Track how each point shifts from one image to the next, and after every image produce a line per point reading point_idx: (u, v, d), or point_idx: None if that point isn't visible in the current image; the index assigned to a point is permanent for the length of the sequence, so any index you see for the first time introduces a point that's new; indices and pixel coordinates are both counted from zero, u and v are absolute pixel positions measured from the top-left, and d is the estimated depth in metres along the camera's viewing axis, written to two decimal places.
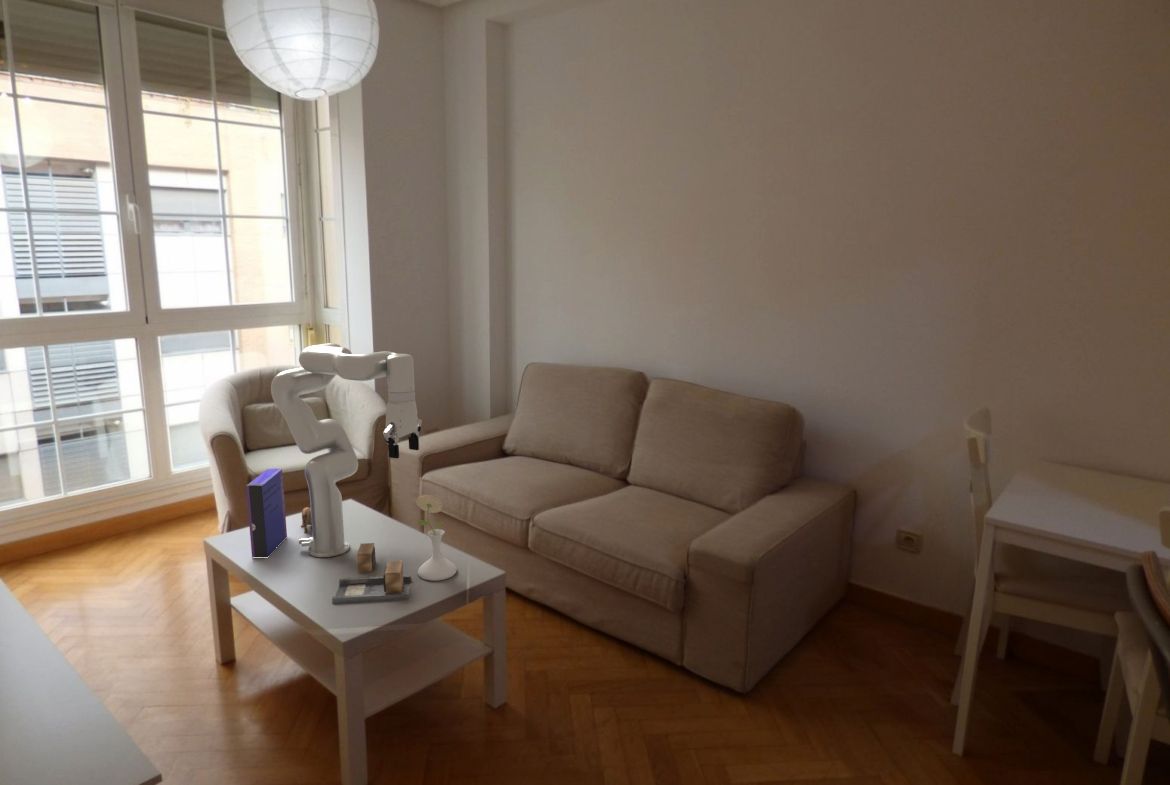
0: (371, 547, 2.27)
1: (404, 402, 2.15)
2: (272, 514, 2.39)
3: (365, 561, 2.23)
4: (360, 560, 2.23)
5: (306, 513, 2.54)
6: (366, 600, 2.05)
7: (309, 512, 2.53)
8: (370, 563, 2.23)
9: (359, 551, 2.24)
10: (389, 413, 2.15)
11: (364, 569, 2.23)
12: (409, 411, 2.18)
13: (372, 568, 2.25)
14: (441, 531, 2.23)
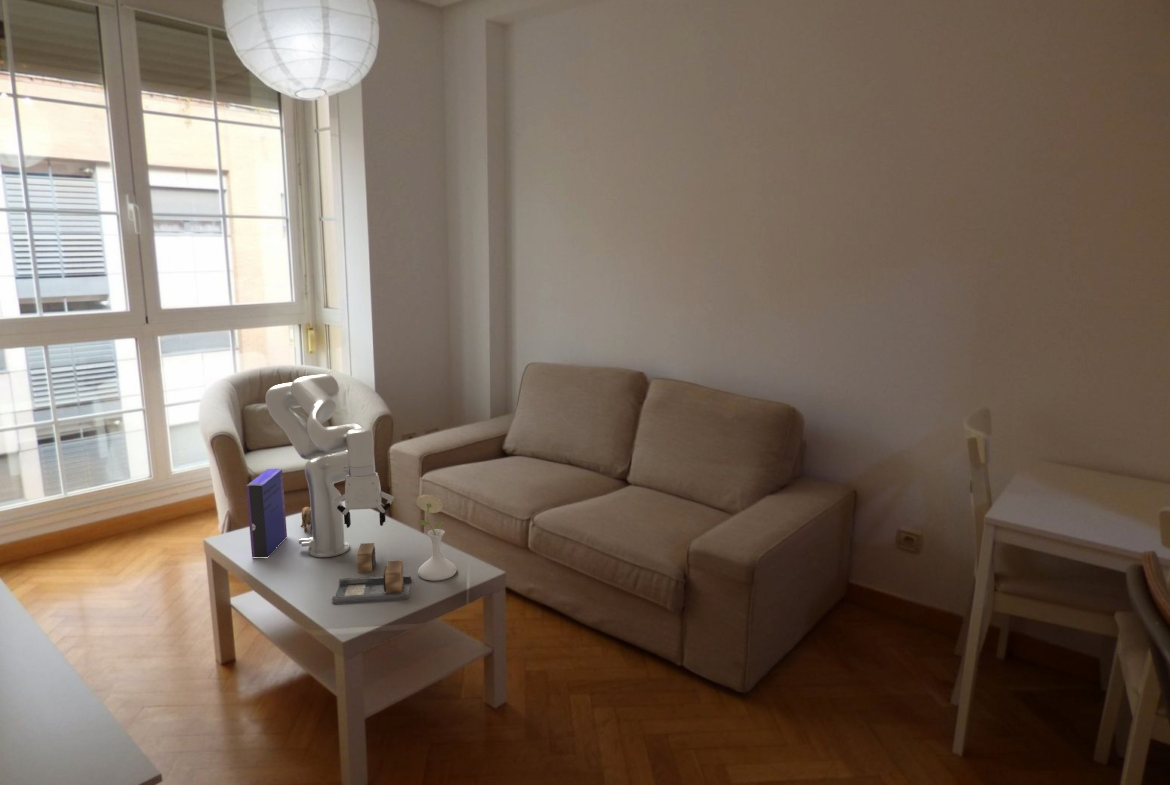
0: (371, 547, 2.27)
1: None
2: (272, 514, 2.39)
3: (365, 561, 2.23)
4: (360, 560, 2.23)
5: (306, 513, 2.54)
6: (366, 600, 2.05)
7: (309, 512, 2.54)
8: (370, 563, 2.23)
9: (359, 551, 2.24)
10: (379, 483, 2.22)
11: (364, 569, 2.23)
12: None
13: (372, 568, 2.25)
14: (441, 531, 2.23)
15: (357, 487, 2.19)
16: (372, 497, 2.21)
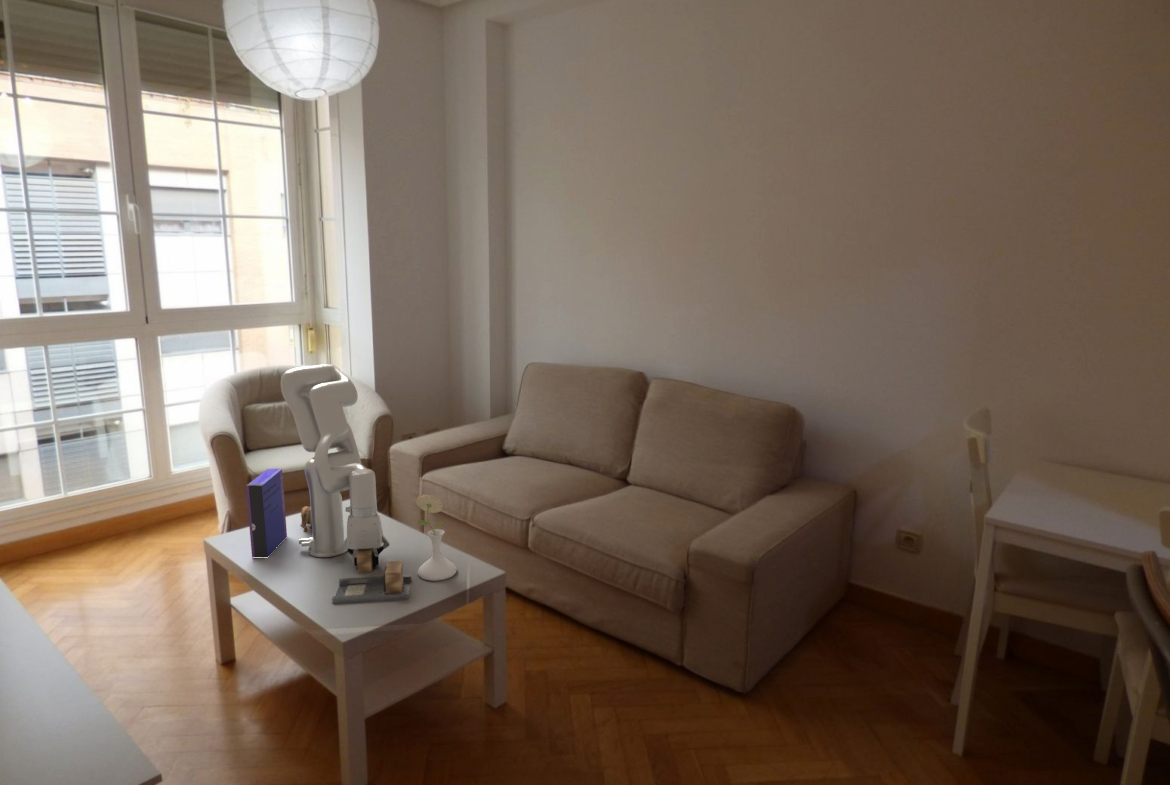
0: None
1: None
2: (272, 514, 2.39)
3: (364, 561, 2.23)
4: (360, 560, 2.23)
5: (306, 512, 2.55)
6: (366, 600, 2.05)
7: (309, 511, 2.54)
8: (370, 563, 2.23)
9: (359, 551, 2.24)
10: (380, 523, 2.25)
11: (363, 569, 2.23)
12: None
13: (372, 568, 2.25)
14: (441, 531, 2.23)
15: (358, 527, 2.22)
16: (374, 537, 2.23)
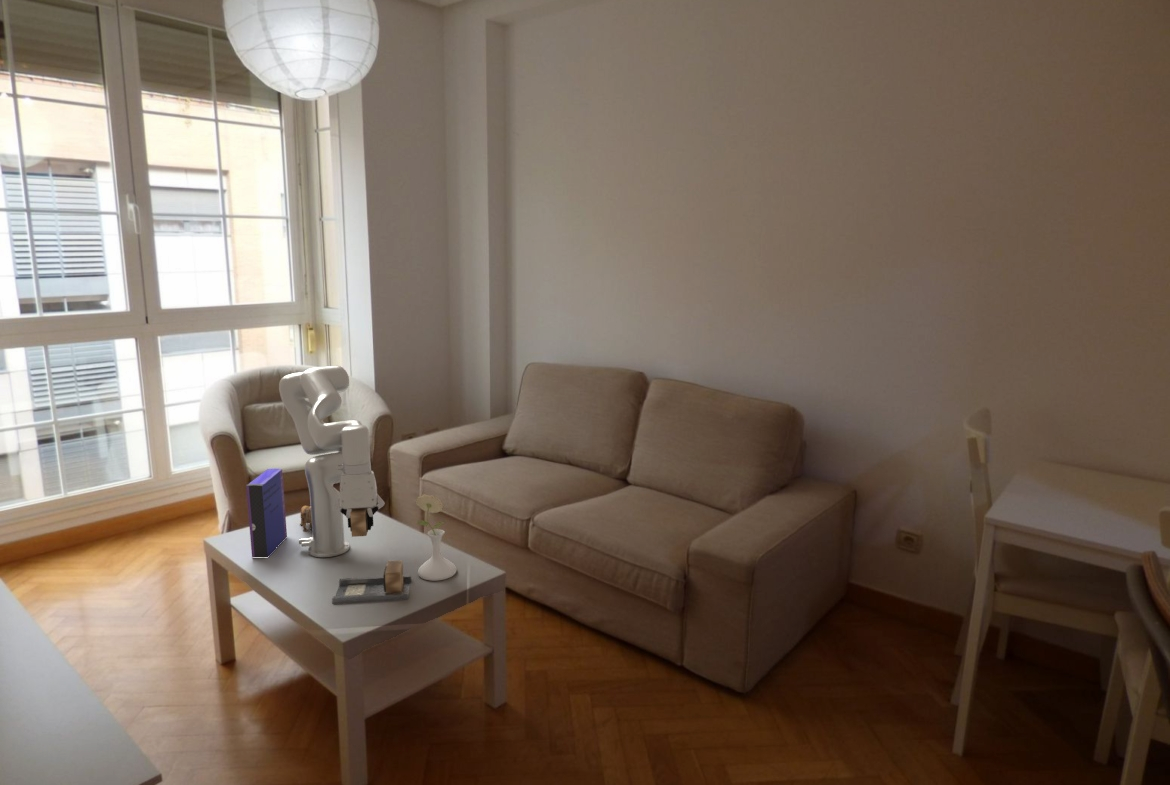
0: None
1: None
2: (272, 514, 2.39)
3: (358, 520, 2.14)
4: (354, 519, 2.13)
5: (305, 511, 2.55)
6: (366, 600, 2.05)
7: (308, 510, 2.55)
8: (364, 523, 2.14)
9: (352, 511, 2.15)
10: (375, 481, 2.16)
11: (358, 529, 2.14)
12: None
13: (366, 528, 2.15)
14: (441, 531, 2.23)
15: (352, 485, 2.13)
16: (368, 496, 2.14)
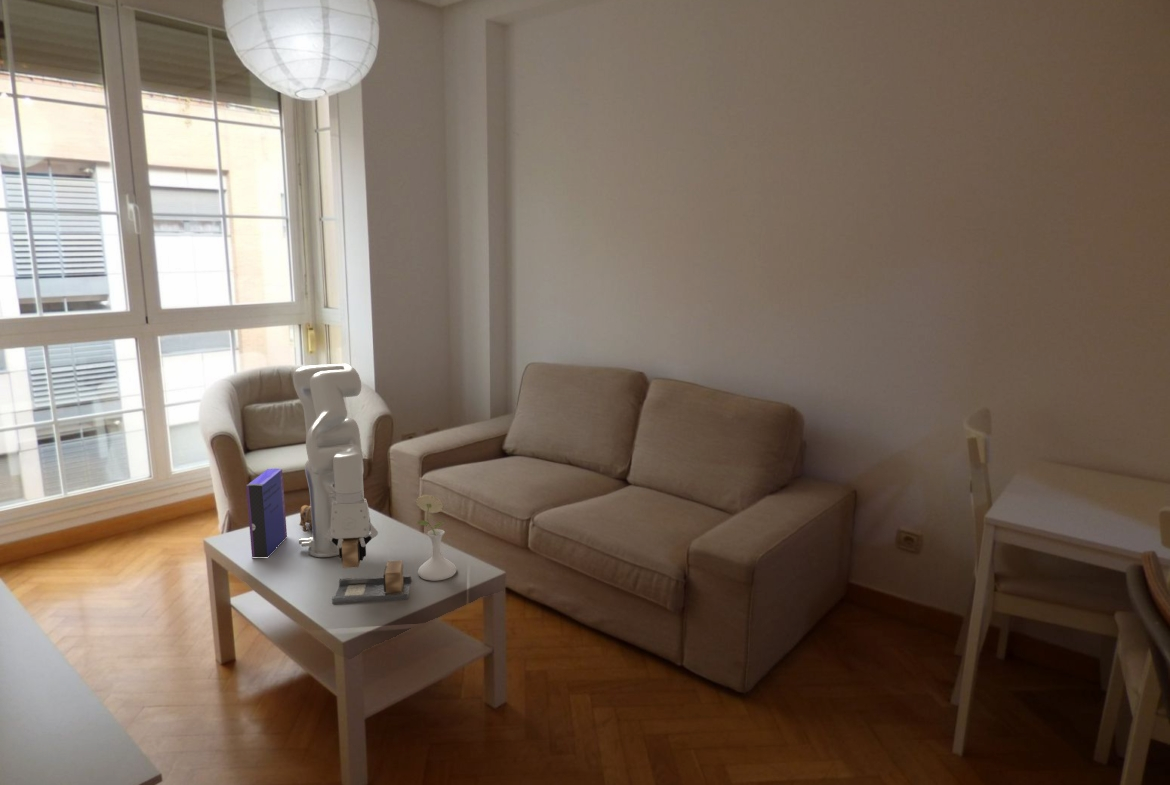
0: None
1: None
2: (272, 514, 2.39)
3: (350, 551, 2.04)
4: (345, 550, 2.04)
5: (305, 511, 2.56)
6: (366, 600, 2.05)
7: (308, 510, 2.55)
8: (356, 553, 2.05)
9: (344, 540, 2.05)
10: (368, 510, 2.06)
11: (349, 560, 2.05)
12: None
13: (358, 559, 2.06)
14: (441, 531, 2.23)
15: (344, 515, 2.03)
16: (360, 526, 2.05)
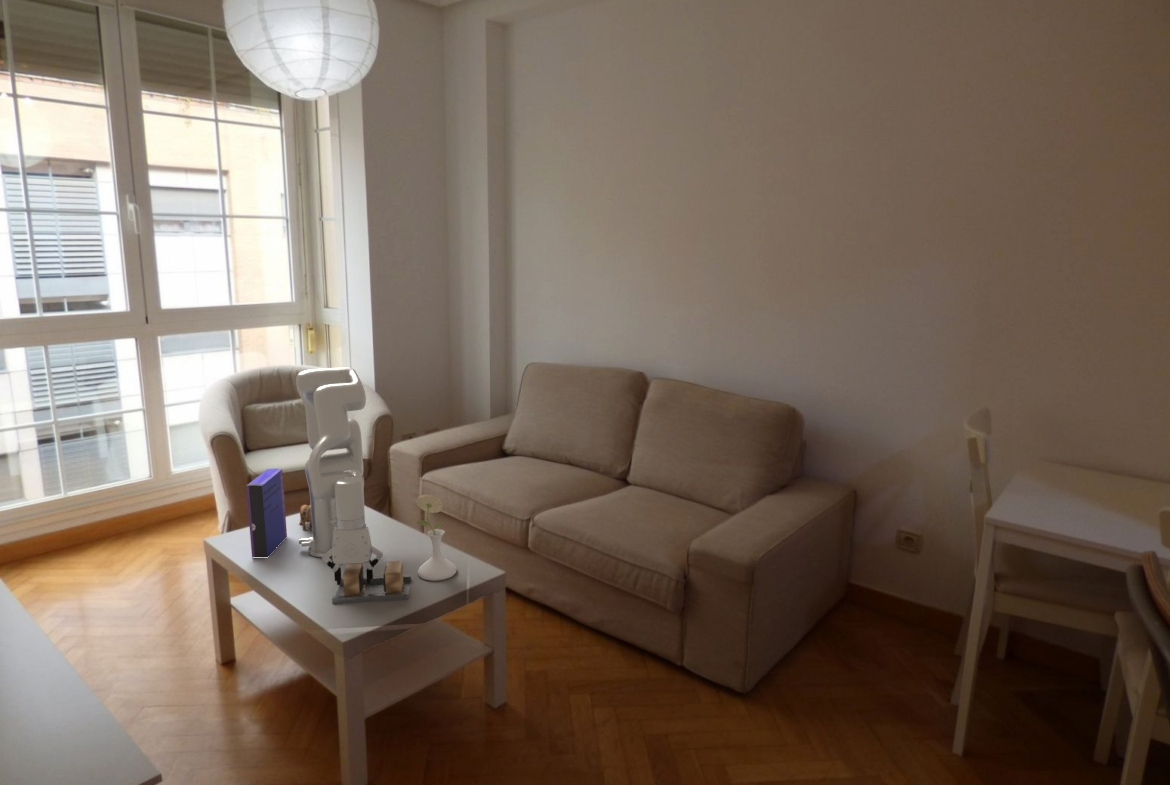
0: (359, 567, 2.10)
1: None
2: (272, 514, 2.39)
3: (351, 582, 2.06)
4: (346, 581, 2.06)
5: (305, 510, 2.56)
6: (366, 600, 2.05)
7: (308, 509, 2.56)
8: (357, 584, 2.07)
9: (345, 571, 2.07)
10: (369, 536, 2.07)
11: (351, 591, 2.07)
12: None
13: (360, 590, 2.08)
14: (441, 531, 2.23)
15: (345, 541, 2.05)
16: (361, 551, 2.06)
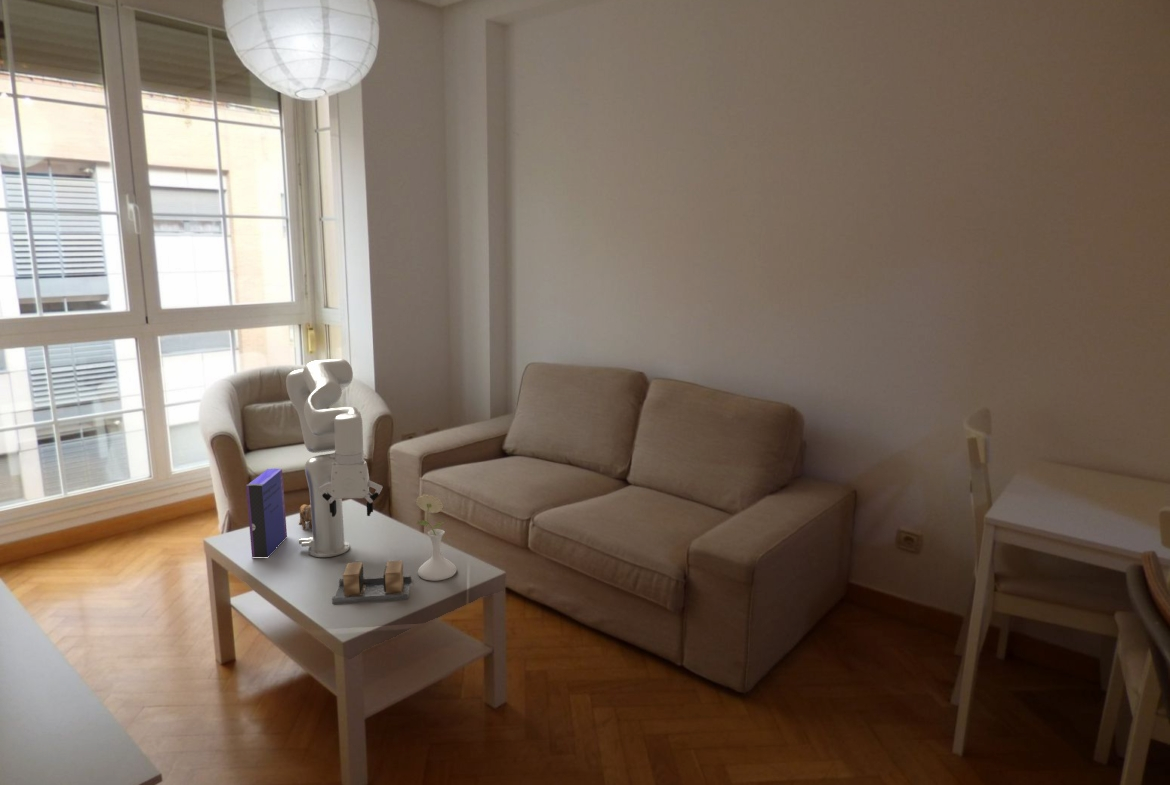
0: (359, 567, 2.10)
1: None
2: (272, 514, 2.39)
3: (351, 582, 2.06)
4: (346, 581, 2.06)
5: (305, 510, 2.57)
6: (366, 600, 2.05)
7: (308, 509, 2.56)
8: (357, 584, 2.07)
9: (345, 571, 2.07)
10: (367, 472, 2.11)
11: (351, 591, 2.07)
12: None
13: (360, 590, 2.08)
14: (441, 531, 2.23)
15: (343, 475, 2.08)
16: (359, 486, 2.10)
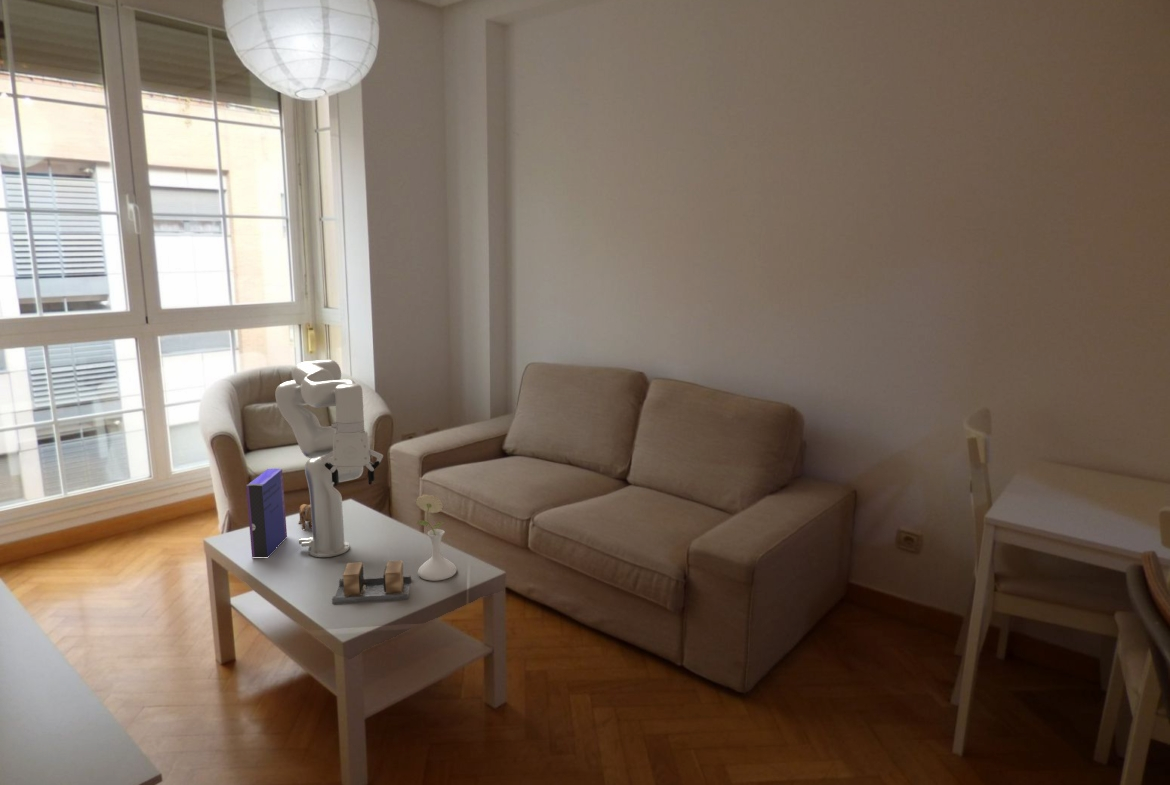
0: (359, 567, 2.10)
1: None
2: (272, 514, 2.39)
3: (351, 582, 2.06)
4: (346, 581, 2.06)
5: (304, 510, 2.57)
6: (366, 600, 2.05)
7: (307, 508, 2.57)
8: (357, 584, 2.07)
9: (345, 571, 2.07)
10: (368, 440, 2.16)
11: (351, 591, 2.07)
12: None
13: (360, 590, 2.08)
14: (441, 531, 2.23)
15: (345, 443, 2.14)
16: (361, 454, 2.15)
